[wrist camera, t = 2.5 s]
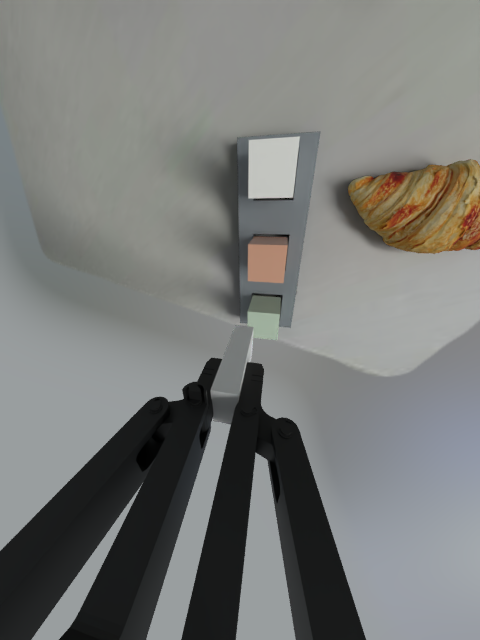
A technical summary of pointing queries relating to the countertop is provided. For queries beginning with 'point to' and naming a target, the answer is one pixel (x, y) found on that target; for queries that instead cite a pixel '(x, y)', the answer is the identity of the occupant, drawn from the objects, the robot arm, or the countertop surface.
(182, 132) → the countertop surface
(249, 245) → the key terracotta
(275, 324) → the key sage
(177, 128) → the countertop surface
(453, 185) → the croissant
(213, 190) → the countertop surface
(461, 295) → the countertop surface
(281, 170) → the key white
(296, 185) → the grey slotted tray
